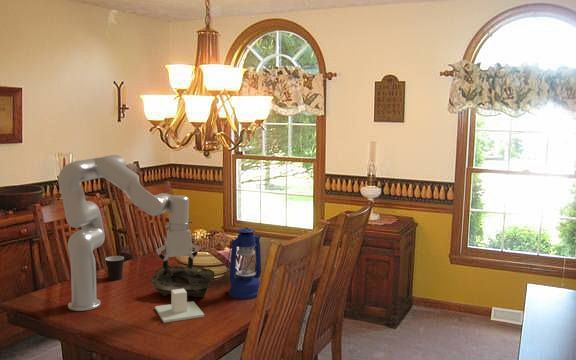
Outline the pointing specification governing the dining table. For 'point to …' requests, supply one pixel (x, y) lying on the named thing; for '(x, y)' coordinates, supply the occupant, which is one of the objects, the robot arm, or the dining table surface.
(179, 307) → the cream block
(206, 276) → the hollow geode rock
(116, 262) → the coffee mug
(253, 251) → the lantern
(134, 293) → the dining table surface
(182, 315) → the sage mat
